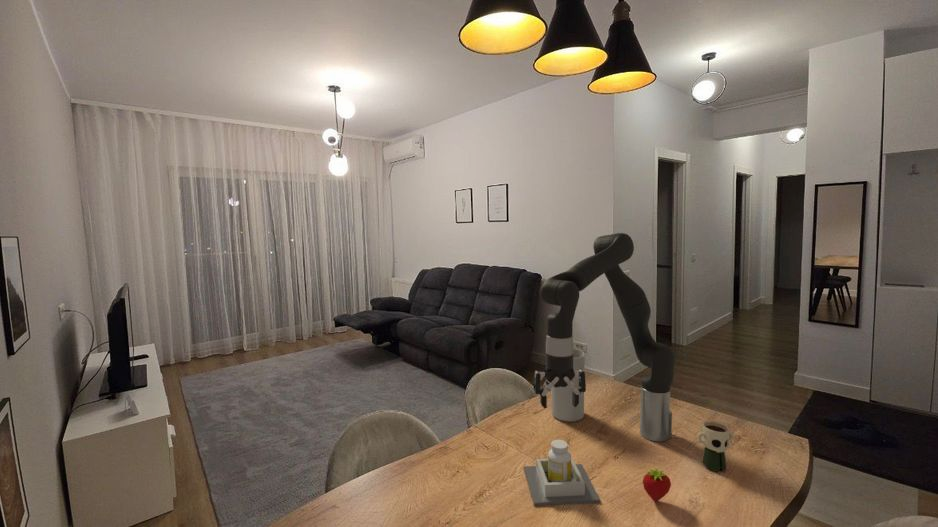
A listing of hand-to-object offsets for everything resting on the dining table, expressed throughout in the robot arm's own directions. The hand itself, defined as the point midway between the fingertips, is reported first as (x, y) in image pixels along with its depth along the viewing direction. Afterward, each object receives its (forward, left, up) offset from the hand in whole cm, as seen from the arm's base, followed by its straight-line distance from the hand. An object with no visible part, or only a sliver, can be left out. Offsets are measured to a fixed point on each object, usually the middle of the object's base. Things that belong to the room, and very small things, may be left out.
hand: (559, 406), depth 113 cm
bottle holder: (0, 0, -24) cm, 24 cm away
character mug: (-49, -5, -24) cm, 55 cm away
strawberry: (-24, +9, -24) cm, 35 cm away
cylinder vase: (-14, -41, -24) cm, 49 cm away
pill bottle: (0, 0, -23) cm, 23 cm away
